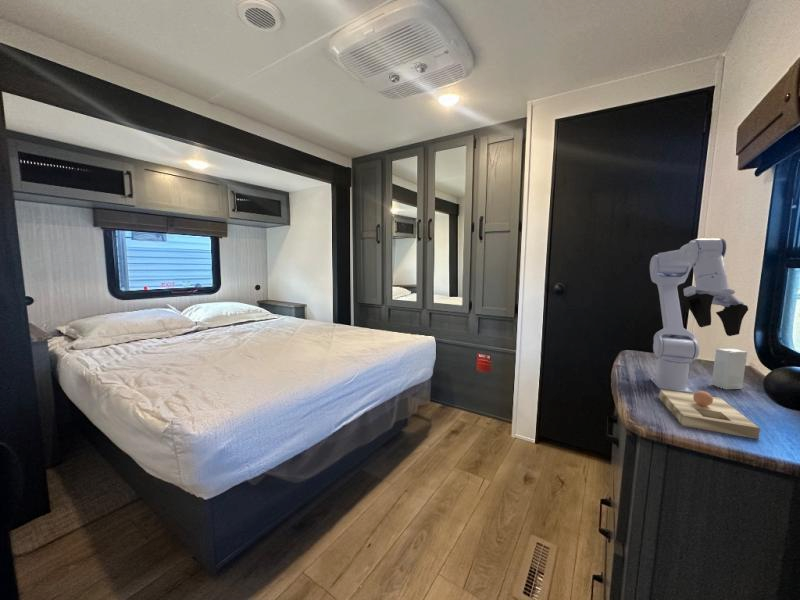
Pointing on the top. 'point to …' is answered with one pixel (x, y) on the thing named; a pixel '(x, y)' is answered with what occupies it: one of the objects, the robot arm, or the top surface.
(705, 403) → the ball
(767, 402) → the top surface
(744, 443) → the top surface
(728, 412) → the beige flat board
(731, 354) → the skincare box
